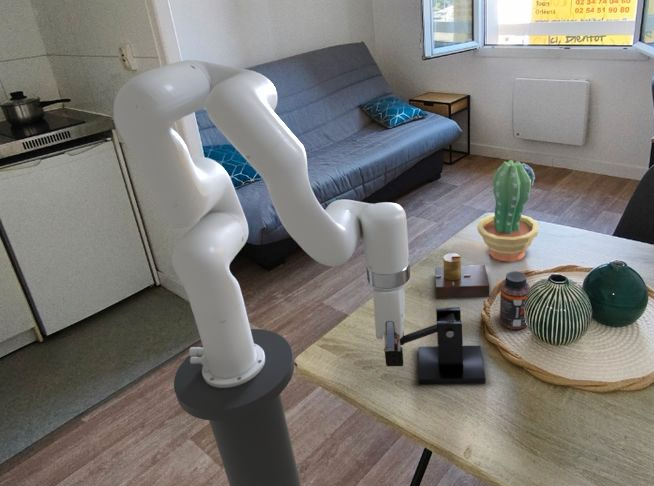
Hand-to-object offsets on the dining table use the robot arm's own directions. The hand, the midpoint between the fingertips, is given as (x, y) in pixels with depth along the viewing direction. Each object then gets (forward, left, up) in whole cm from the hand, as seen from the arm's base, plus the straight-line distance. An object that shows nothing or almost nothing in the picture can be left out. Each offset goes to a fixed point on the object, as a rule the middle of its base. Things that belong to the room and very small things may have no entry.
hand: (395, 353), depth 95 cm
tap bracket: (+10, 0, -3) cm, 11 cm away
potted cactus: (+27, +42, -4) cm, 50 cm away
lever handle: (+6, 0, +4) cm, 7 cm away
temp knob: (+12, +27, 0) cm, 30 cm away
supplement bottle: (+24, +13, -4) cm, 28 cm away
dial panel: (+14, +27, -3) cm, 31 cm away
